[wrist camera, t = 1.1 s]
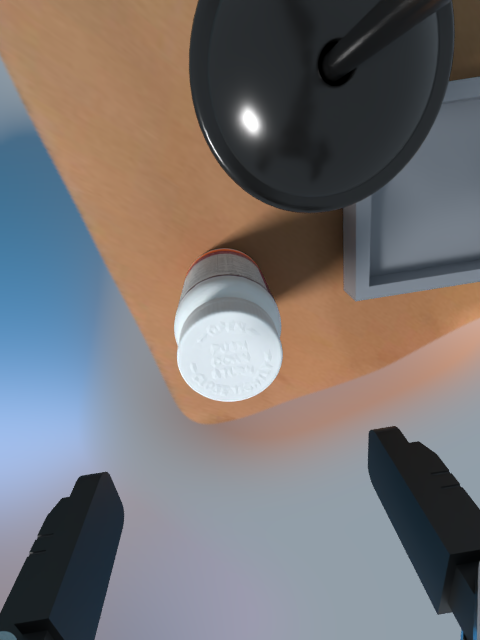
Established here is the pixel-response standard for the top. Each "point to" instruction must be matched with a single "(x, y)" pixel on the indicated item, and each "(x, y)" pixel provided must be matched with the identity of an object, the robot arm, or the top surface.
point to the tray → (422, 211)
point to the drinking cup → (318, 92)
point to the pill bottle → (227, 327)
